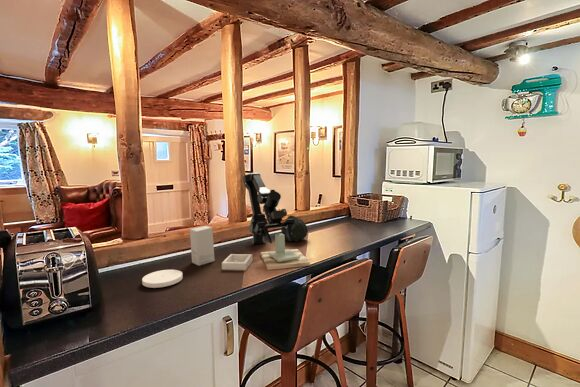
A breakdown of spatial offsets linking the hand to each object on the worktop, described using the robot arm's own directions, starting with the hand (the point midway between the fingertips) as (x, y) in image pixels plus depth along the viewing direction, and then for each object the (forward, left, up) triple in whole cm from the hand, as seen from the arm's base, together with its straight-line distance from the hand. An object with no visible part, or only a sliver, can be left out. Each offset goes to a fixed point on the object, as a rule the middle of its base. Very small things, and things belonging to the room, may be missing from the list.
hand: (280, 241), depth 139 cm
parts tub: (+3, -20, -8) cm, 21 cm away
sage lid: (+3, +1, -6) cm, 7 cm away
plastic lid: (+13, -48, -9) cm, 51 cm away
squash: (-30, +14, -8) cm, 34 cm away
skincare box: (-6, -34, -8) cm, 36 cm away
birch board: (+2, +1, -8) cm, 8 cm away
